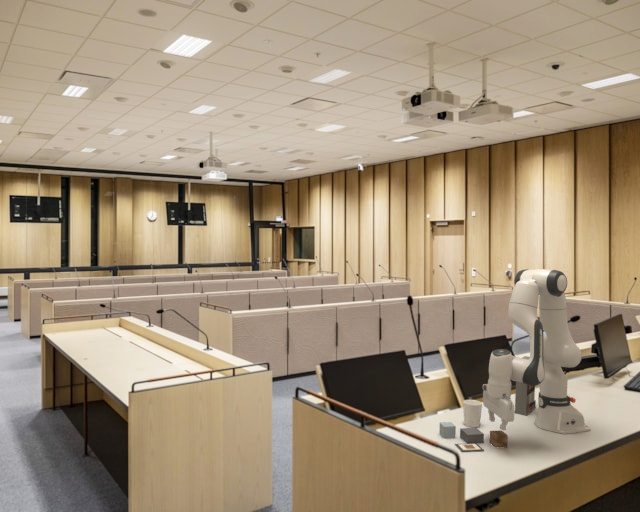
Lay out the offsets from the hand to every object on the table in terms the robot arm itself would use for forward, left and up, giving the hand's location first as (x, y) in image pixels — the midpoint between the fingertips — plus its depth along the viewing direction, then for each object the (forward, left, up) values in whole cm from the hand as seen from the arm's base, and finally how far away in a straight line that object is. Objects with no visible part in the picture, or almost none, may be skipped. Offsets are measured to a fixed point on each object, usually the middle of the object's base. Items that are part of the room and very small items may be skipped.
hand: (497, 425), depth 209 cm
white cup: (0, -23, -8) cm, 25 cm away
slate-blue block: (+16, -11, -8) cm, 21 cm away
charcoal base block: (+8, -6, -8) cm, 13 cm away
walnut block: (-1, 0, -8) cm, 8 cm away
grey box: (-34, -39, -8) cm, 52 cm away
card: (+12, +2, -8) cm, 15 cm away
